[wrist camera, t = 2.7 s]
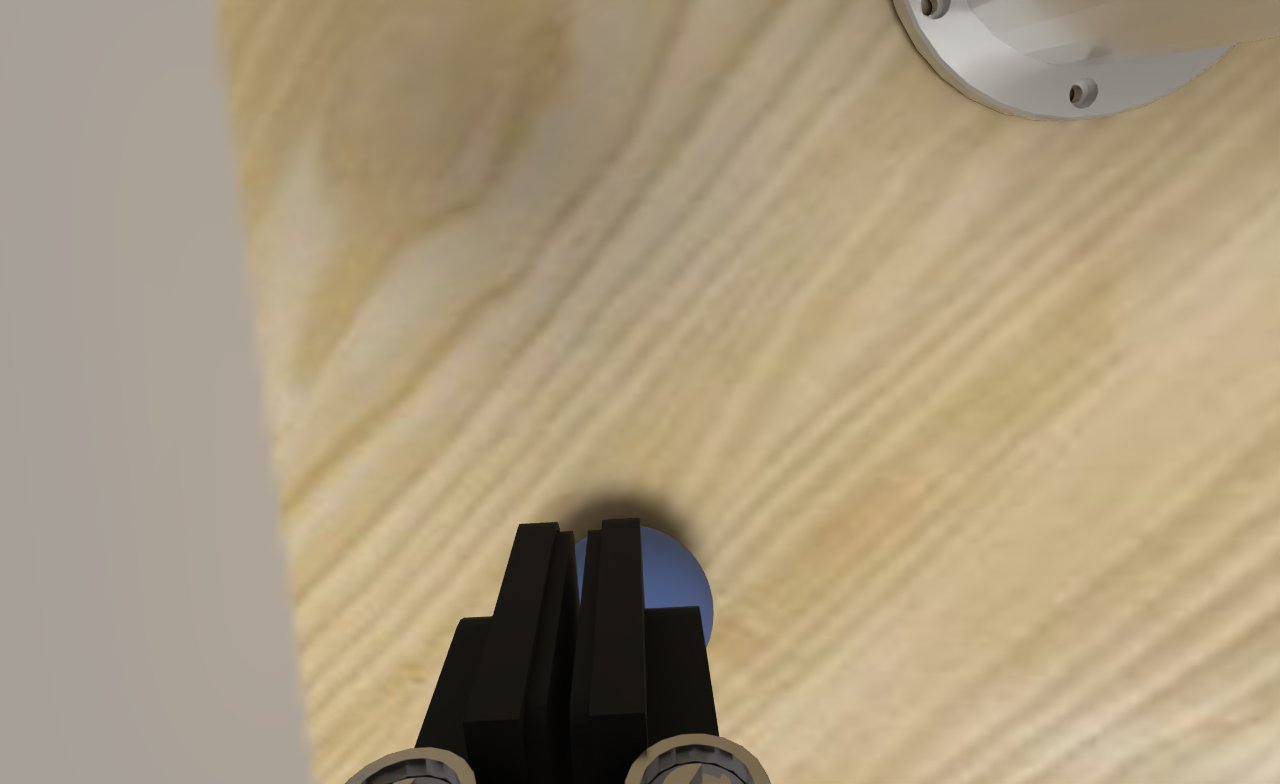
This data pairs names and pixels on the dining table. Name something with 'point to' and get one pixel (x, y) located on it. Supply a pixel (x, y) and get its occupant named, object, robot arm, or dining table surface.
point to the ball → (666, 575)
